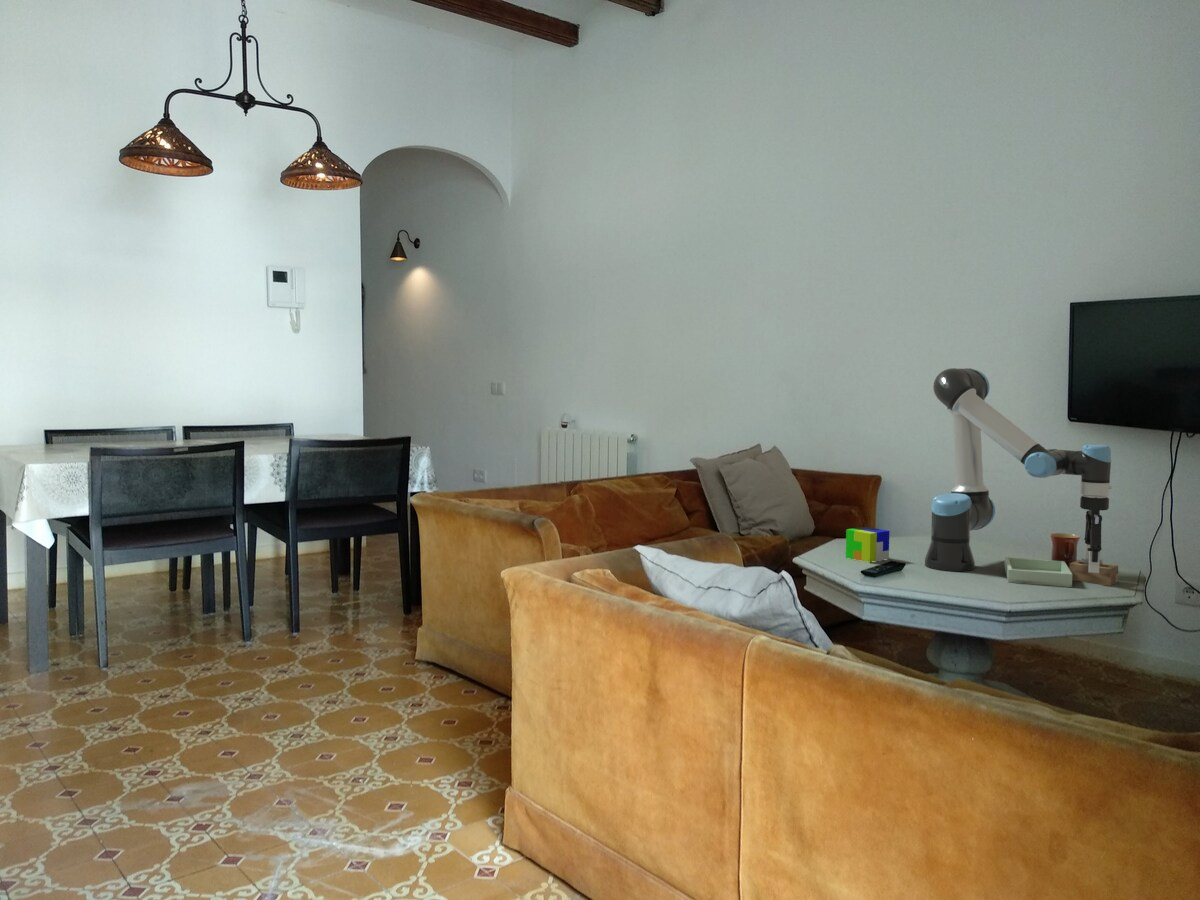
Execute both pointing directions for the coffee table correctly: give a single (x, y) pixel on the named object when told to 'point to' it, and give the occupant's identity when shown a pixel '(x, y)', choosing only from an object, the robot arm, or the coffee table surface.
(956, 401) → the robot arm
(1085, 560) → the stake
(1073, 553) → the mug
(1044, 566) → the tray
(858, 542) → the puzzle toy
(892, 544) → the coffee table surface
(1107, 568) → the light brown wooden box
